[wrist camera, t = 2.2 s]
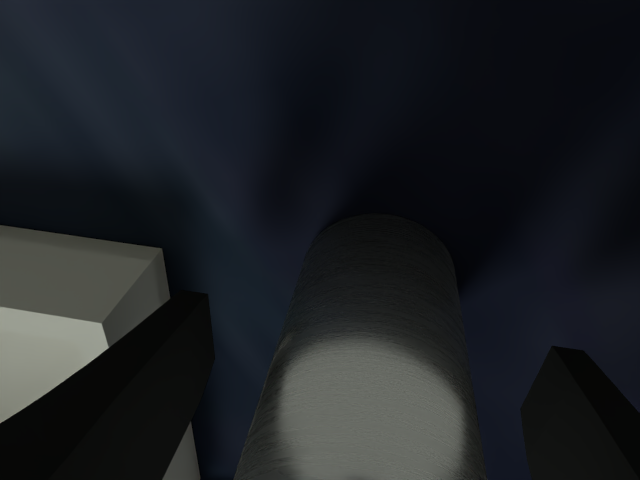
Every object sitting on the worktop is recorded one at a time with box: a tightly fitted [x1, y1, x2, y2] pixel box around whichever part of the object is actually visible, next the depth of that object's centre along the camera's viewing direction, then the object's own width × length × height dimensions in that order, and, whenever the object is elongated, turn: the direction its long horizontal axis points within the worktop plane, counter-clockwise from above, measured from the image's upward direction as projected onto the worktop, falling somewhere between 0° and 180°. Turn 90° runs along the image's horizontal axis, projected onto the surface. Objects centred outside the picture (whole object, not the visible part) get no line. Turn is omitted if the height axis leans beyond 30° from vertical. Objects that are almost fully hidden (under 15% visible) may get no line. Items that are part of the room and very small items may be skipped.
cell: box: [233, 213, 487, 480], centre depth 9 cm, size 4×4×7 cm
